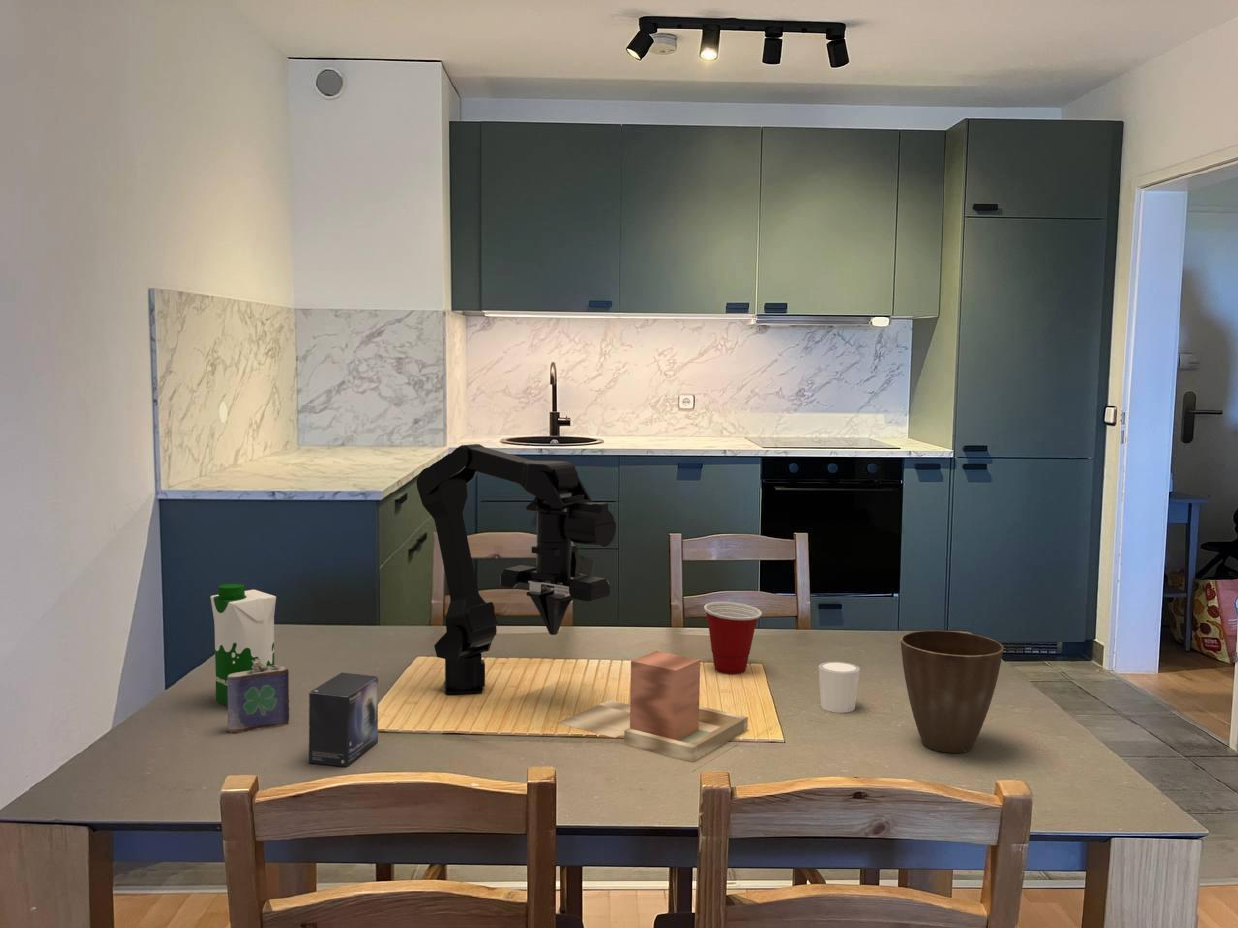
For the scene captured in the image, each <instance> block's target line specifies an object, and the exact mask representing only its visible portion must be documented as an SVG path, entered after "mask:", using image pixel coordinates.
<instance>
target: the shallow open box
mask: <svg viewBox="0 0 1238 928" xmlns="http://www.w3.org/2000/svg"><path fill="white" fill-rule="evenodd" d="M748 723H749V717H748V716H744V715H740V714H737V713H732V712H727V711H723V710H719V709H715V708H710V707H705V706H703V705H702V706H701V705H699V730H698V731H696V732H694V733H692V734H690V735H689V736H687V737H685V738H683V739H681V740H679V741H677V740H673V739H669V738H665V737H661V736H657V735H653V734H649V733H645V732H642V731H638V730H634V729H630V703H624V702H620V701H615V700H613V699H607V700H605V701H604V702H601V703H598V704H596V705H594V706H592V707H590V708H588V709H584V710H582V711H581V712H578V713H576V714H574V715H572V716H569V717H567V718H564V719H563V720H560V721H557V723H556V724H561V725H564V726H567V727H571V728H575V729H579V730H583V731H586V732H587V731H588V732H590V733H593V734H599V735H601V736H606V737H609V738H613V739H616V738H619V737H620V736H622V735H623V736H624V737H623V739H624V740H623V745H627V746H630V747H634V748H638V749H641V750H646V751H650V752H653V753H657V754H660V755H664V756H668V757H672V758H675V759H679V760H683V761H687V762H690V763H693V762H695V761H697V760H698V759H701V758H702V757H704V756H706V755H707V754H709V753H710V752H713V751H714V750H715V749H718V748H719V747H721V746H722V745H724V744H726V743H727V742H729V741H731V740H733V739H735V738H736V737H738V736H739V735H742V734H743V733H745V732H747V731H748V730H749V729H748V728H749V727H748V726H749V725H748ZM736 746H738V744H736V745H735V747H736ZM732 749H733V747H731V748H730V750H732ZM727 752H728V750H727V751H725V753H727ZM721 755H723V753H722V754H720V756H721ZM717 758H718V756H716V757H715V759H717ZM712 761H713V759H711V760H710V761H709V760H708V762H707V763H704V764H703V765H701V766H699V768H701V767H703V766H705V765H706V764H708V763H709V762H712ZM699 768H698V769H699ZM695 771H696V769H694V770H693V772H695Z"/></svg>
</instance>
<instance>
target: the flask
mask: <svg viewBox="0 0 1238 928" xmlns="http://www.w3.org/2000/svg"><path fill="white" fill-rule="evenodd" d="M252 662H253V666H252V669H253V670H250V671H244V672H237V673H232V674H229V675H228V676H227V685H228V707H227V730H228V732H229V733H230V734H233V733H237V734H238V733H245V732H248V731H250V732H251V731H258V730H263V729H265V728H267V729H270V728H273V727H276V728H277V727H279V726H287V725H290V723H289V722H290V720H289V719H290V696H289V695H290V694H289V691H290V689H289V688H290V687H289V686H290V685H289V684H290V683H289V678H290V677H289V675H290V674H289V673H290V671H289V668H287V667H286V666H278V665H276V664H274V665H272V666H274V667H272V666H265V665H263V664H261V663H260V658H258V659H255V661H253V660H252ZM269 667H272V668H269Z"/></svg>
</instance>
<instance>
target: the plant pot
mask: <svg viewBox="0 0 1238 928" xmlns="http://www.w3.org/2000/svg"><path fill="white" fill-rule="evenodd" d="M900 646H901V648H900V650H901V657H902V667H903V672H904V680H905V684H906V690H907V696H908V699H909V704H910V707H911V712H912V714H913V719H914V721H915V722H914V723H915V726H916V728H917V732H918V735H919V738H920V741H921V743H922V745H923V746H925V747H926V748H928V749H931V750H933V751H937V752H943V753H946V754H947V753H948V754H950V753H951V754H961V753H966V752H970V750H972V749H973V747H974V745H975V743H976V741H977V739H978V736H979V734H980V732H981V730H982V727H983V725H984V722H985V720H986V717H987V714H988V711H989V709H990V705H991V703H992V699H993V696H994V693H995V689H996V685H997V683H998V682H997V681H998V678H999V673H1000V669H1001V665H1002V664H1001V663H1002V659H1003V654H1004V649H1005V647H1004V645H1002V643H1000V642H998V641H996V640H994V639H992V638H988V637H985V636H981V635H977V634H975V633H973V634H972V633H969V632H968V633H967V632H960V631H952V630H951V631H950V630H919V631H912V632H908V633H905V634H903V635H902V636H901V637H900Z"/></svg>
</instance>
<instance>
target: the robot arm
mask: <svg viewBox="0 0 1238 928" xmlns="http://www.w3.org/2000/svg"><path fill="white" fill-rule="evenodd" d="M478 473H482V474H485V475H487V476H491V477H495V478H498V479H501V480H505V481H509V482H511V483H515V484H517V485H519V486H520V487H522V488H523V490H524V491H525V492H527V493H528V494H530V495H532V496H534V498H533V500H532V501H530V502H529V503H528V504H527V505H526V506H525V509H526V511H531V512H536V545H534V546H531V554H536V567H535V566H530V565H523V564H518V565H515V566H512V567H511V566H510V567H507V568H504V569H503V570H502V572H501V574H500V576H499V578H500V580H499V583H500V584H499V585H500V587H504V588H509V589H510V588H511V589H514V588H516V587H517V585H518V584H519V583H521V584H522V583H523V584H528V585H529V591H526V596H527V597H530V599H531V600H532V603H533V604H534V606H535V608H536V609H537V611H538V613H539V615H540V616H541V618H542V619H541V620H542V621H543V623H544V625H545V627H546V630H547V632H548V634H549V635H550V636H557V635H558V633H559V630H560V628H561V625H562V622H563V619H564V617H565V614H566V612H567V610H568V607H569V606H570V604H571V602H572V601H573V600H576V601H577V600H578V601H583V602H592V601H595V600H599V599H602V598H605V597H609V596H611V592H610V591H611V590H610V589H611V588H610V587H611V585H610V582H609V580H607V578H605V577H599V576H593V571H594V566H595V561H596V560H595V559H593V558H590V557H587V556H584V555H580V554H579V552H578V551H579V550H578V549H579V548H578V546H577V545H578V544H581V545H589V546H595V547H596V546H597V547H603V548H605V547H608V546H609V545H610V544H612V542H613V540H614V537H615V535H616V532H617V522H616V521H615V518H614V515H613V514H612V512H611V511H610V510H609V503H608V502H597V503H596V502H593V501H592V499H591V496H590V495H589V493H588V491H587V489H586V488H585V487H584V484H583V483H582V481H581V478H579V475H578V472H577V469H576V466H575V465H574V464H573V463H571V462H569V461H561V460H531V459H527V458H524V457H520V456H517V455H514V454H510V453H506V452H503V451H499V450H496V449H492V448H489V447H485V446H484V445H482V444H479V443H473V444H462V445H459V446H457V447H456V448H455V449H454V450H453V451H452V452H451V453H449V454H447V455H446V456H444V457H443V458H441V459H439V460H438V461H435V462H434V463H432V465H430V466H429V467H425V468H423V469H422V470H421V471H420V473H419V475H418V477H417V478H416V489H417V492H418V495H419V498H420V501H421V504H422V506H423V507H424V508H425V510H426V512H427V513H429V514H430V516H431V517H432V518H433V520H434V524H435V528H436V534H437V539H438V544H439V549H440V554H441V558H442V559H441V561H442V565H443V568H444V570H443V571H444V574H445V579H446V584H447V588H448V593H449V598H450V599H449V605H448V607H447V611H446V615H445V630H446V631H445V633H444V634H443V635H442V637H440V638H439V639H438V641H436V643H435V644H434V646H433V647H434V651H435V654H436V655H435V656H436V658H439V659H443V660H444V681H443V686H444V687H443V688H444V695H458V694H459V695H460V694H461V695H463V694H481V693H483V692H484V691H483V690H484V687H485V686H486V662H485V660H484V659H482V658H483V656H482V655H483V654H482V653H484V652H489V651H490V649H491V647H492V642H493V641H494V639H495V636H497V625H499V621H498V620H497V618H496V611H495V605H494V602H493V601H489V602H486V601H485V600H484V598H483V597H482V596H481V595H480V593H479V589H478V588H479V587H478V583H477V579H476V573H475V569H474V564H473V559H472V554H471V549H470V545H469V539H468V534H467V529H466V526H465V525H466V523H465V519H464V509H465V506H466V504H467V500H468V485H469V483H471V482H472V481H473V480H474V479H475V478H476V477H477V474H478ZM579 577H580V578H579ZM572 578H575V579H572Z"/></svg>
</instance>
